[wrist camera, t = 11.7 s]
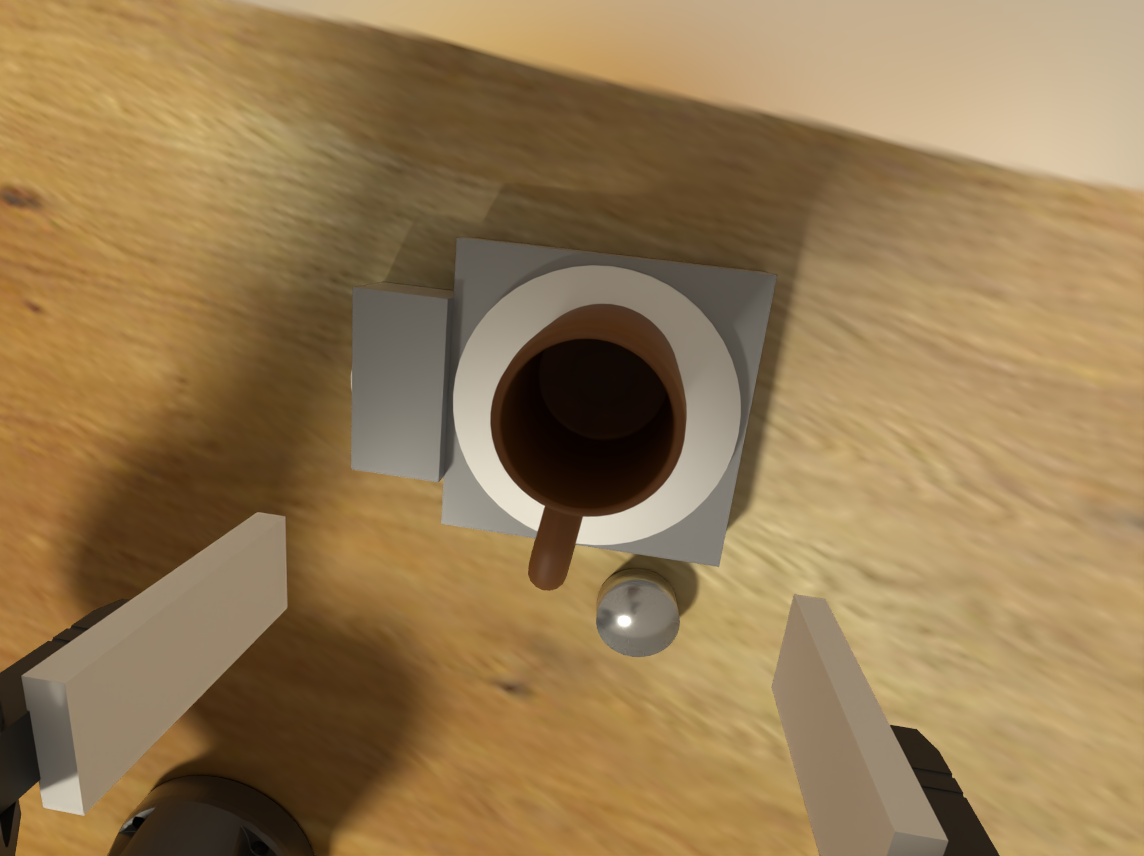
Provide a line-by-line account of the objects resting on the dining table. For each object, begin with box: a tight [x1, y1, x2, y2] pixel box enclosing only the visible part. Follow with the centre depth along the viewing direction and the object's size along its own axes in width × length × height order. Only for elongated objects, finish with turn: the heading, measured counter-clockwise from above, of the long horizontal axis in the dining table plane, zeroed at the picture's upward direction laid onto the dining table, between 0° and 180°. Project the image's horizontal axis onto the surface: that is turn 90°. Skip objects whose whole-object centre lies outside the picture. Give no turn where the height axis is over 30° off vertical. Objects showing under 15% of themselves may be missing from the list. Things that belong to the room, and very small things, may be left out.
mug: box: [490, 304, 687, 591], centre depth 29 cm, size 12×8×9 cm, turn 166°
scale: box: [351, 237, 777, 567], centre depth 35 cm, size 21×16×4 cm
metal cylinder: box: [596, 568, 680, 657], centre depth 39 cm, size 5×5×2 cm
